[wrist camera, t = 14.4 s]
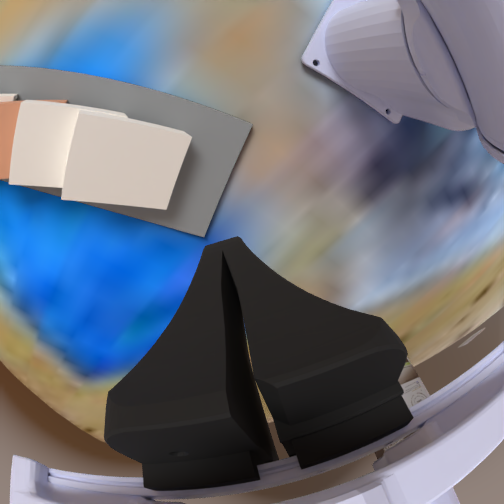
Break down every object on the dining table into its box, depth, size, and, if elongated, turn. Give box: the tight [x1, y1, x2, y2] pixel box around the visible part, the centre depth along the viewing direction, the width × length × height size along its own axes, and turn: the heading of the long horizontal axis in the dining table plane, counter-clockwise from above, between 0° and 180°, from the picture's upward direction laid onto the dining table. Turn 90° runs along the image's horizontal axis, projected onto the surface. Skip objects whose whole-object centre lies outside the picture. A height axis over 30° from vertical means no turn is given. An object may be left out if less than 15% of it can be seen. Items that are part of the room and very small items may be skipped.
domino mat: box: [0, 65, 253, 237], centre depth 15 cm, size 22×9×1 cm, turn 66°
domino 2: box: [9, 100, 128, 188], centre depth 13 cm, size 2×5×7 cm
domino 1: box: [0, 100, 67, 179], centre depth 12 cm, size 2×5×7 cm
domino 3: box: [61, 110, 192, 210], centre depth 15 cm, size 2×5×7 cm
